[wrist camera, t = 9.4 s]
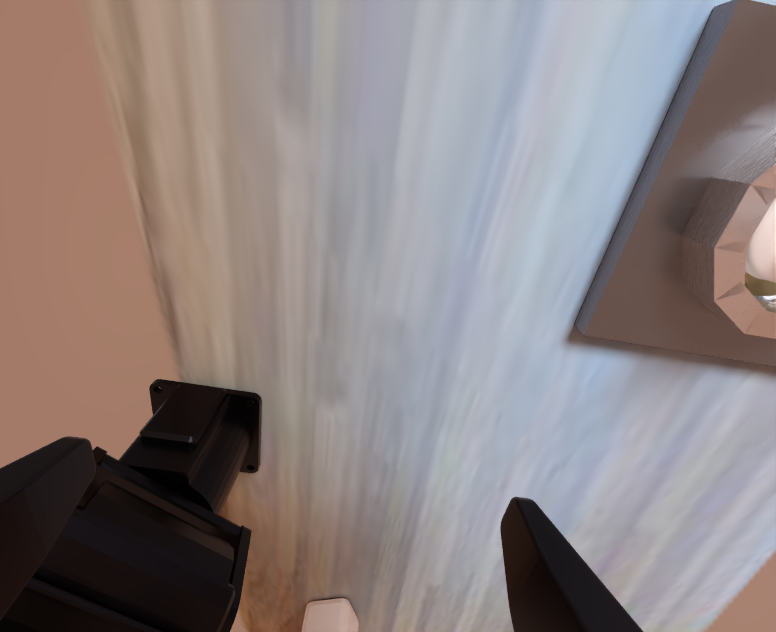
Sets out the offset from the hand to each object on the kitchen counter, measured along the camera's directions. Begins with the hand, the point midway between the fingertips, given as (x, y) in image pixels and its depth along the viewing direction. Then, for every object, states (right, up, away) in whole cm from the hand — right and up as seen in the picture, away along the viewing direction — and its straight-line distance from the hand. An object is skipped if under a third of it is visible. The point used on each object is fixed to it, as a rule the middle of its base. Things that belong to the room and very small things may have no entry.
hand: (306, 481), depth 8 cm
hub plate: (+20, +8, +10) cm, 24 cm away
